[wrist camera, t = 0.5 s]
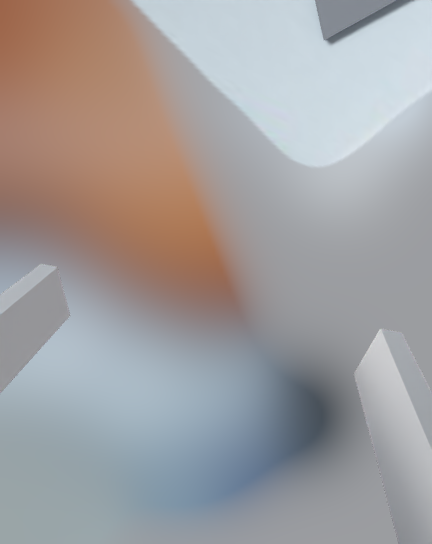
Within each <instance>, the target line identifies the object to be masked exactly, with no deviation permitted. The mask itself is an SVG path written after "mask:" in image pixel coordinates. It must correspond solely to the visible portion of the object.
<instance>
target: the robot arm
mask: <svg viewBox="0 0 432 544" xmlns="http://www.w3.org/2000/svg"><path fill="white" fill-rule="evenodd" d="M69 316H70V312H69V309H68V305H67V301H66V297H65V293H64V290H63V286H62V282H61V278H60V274H59V271H58V267H54V266H49V265H44V264H40V265H39V266H38V267H36V268H35V269H34V270H32V271H31V272H30V273H28V274H27V275H26V276H24V277H23V278H22V279H20V280H19V281H18V282H16V283H15V284H14V285H13V286H11V287H10V288H9V289H7V290H6V291H5V292H3V293H2V294H1V295H0V393H1V392H2V391H3V390H4V389H5V388H6V387H7V385H8V384H9V383H10V382H11V381H12V380H13V379H14V378H15V376H16V375H17V374H18V373H19V372H20V371H21V370H22V369H23V368H24V367H25V365H26V364H27V363H28V362H29V361H30V360H31V359H32V358H33V356H34V355H35V354H36V353H37V352H38V351H39V350H40V349H41V347H42V346H43V345H44V344H45V343H46V342H47V341H48V340H49V339H50V337H51V336H52V335H53V334H54V333H55V332H56V331H57V330H58V329H59V327H60V326H61V325H62V324H63V323H64V322H65V321H66V320H67V319H68V317H69ZM354 376H355V380H356V384H357V388H358V391H359V395H360V399H361V403H362V406H363V410H364V414H365V418H366V422H367V426H368V429H369V433H370V437H371V441H372V445H373V449H374V453H375V456H376V460H377V464H378V468H379V471H380V475H381V479H382V483H383V487H384V491H385V494H386V498H387V502H388V506H389V510H390V513H391V517H392V521H393V525H394V529H395V533H396V536H397V540H398V544H432V392H431V390H430V388H429V386H428V384H427V382H426V380H425V378H424V376H423V374H422V372H421V370H420V368H419V366H418V364H417V362H416V360H415V358H414V356H413V354H412V352H411V350H410V348H409V346H408V344H407V342H406V340H405V338H404V336H403V334H402V333H401V332H397V331H392V330H387V329H380V330H379V332H378V334H377V335H376V337H375V339H374V341H373V342H372V344H371V346H370V347H369V349H368V351H367V352H366V354H365V356H364V357H363V359H362V361H361V363H360V364H359V366H358V368H357V369H356V371H355V373H354Z"/></svg>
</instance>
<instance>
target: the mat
mask: <svg viewBox="0 0 432 544" xmlns="http://www.w3.org/2000/svg"><path fill="white" fill-rule="evenodd" d="M395 1H396V0H315V2H316V6H317V11H318V16H319V20H320V25H321V29H322V34H323V39H324V40H326V39H328V38H329V37H331V36H333V35H335V34H337V33H339V32H340V31H342V30H344V29H346V28H348V27H349V26H351V25H353V24H355V23H357V22H358V21H360V20H362V19H364V18H366V17H367V16H369V15H371V14H373V13H375V12H376V11H378V10H380V9H382V8H384V7H386V6H387V5H389V4H391V3H393V2H395Z"/></svg>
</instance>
